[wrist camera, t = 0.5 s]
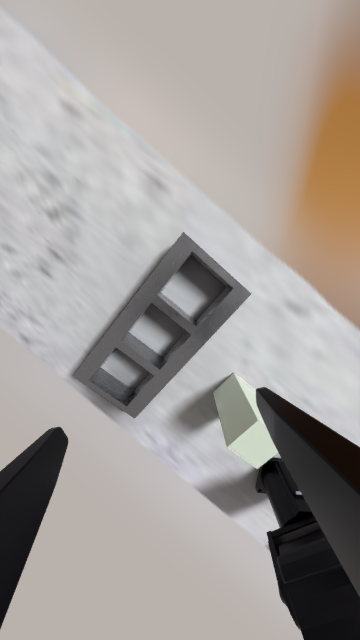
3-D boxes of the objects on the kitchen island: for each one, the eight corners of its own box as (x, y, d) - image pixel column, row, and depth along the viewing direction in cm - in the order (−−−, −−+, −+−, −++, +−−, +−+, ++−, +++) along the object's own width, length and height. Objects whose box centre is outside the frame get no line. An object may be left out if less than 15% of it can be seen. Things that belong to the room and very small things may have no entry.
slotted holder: (140, 401, 25) (134, 418, 22) (86, 363, 24) (72, 376, 21) (241, 291, 21) (251, 293, 18) (183, 238, 20) (183, 232, 17)
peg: (254, 389, 24) (289, 444, 16) (234, 408, 25) (257, 469, 17) (233, 372, 23) (258, 420, 16) (213, 392, 24) (226, 447, 16)
